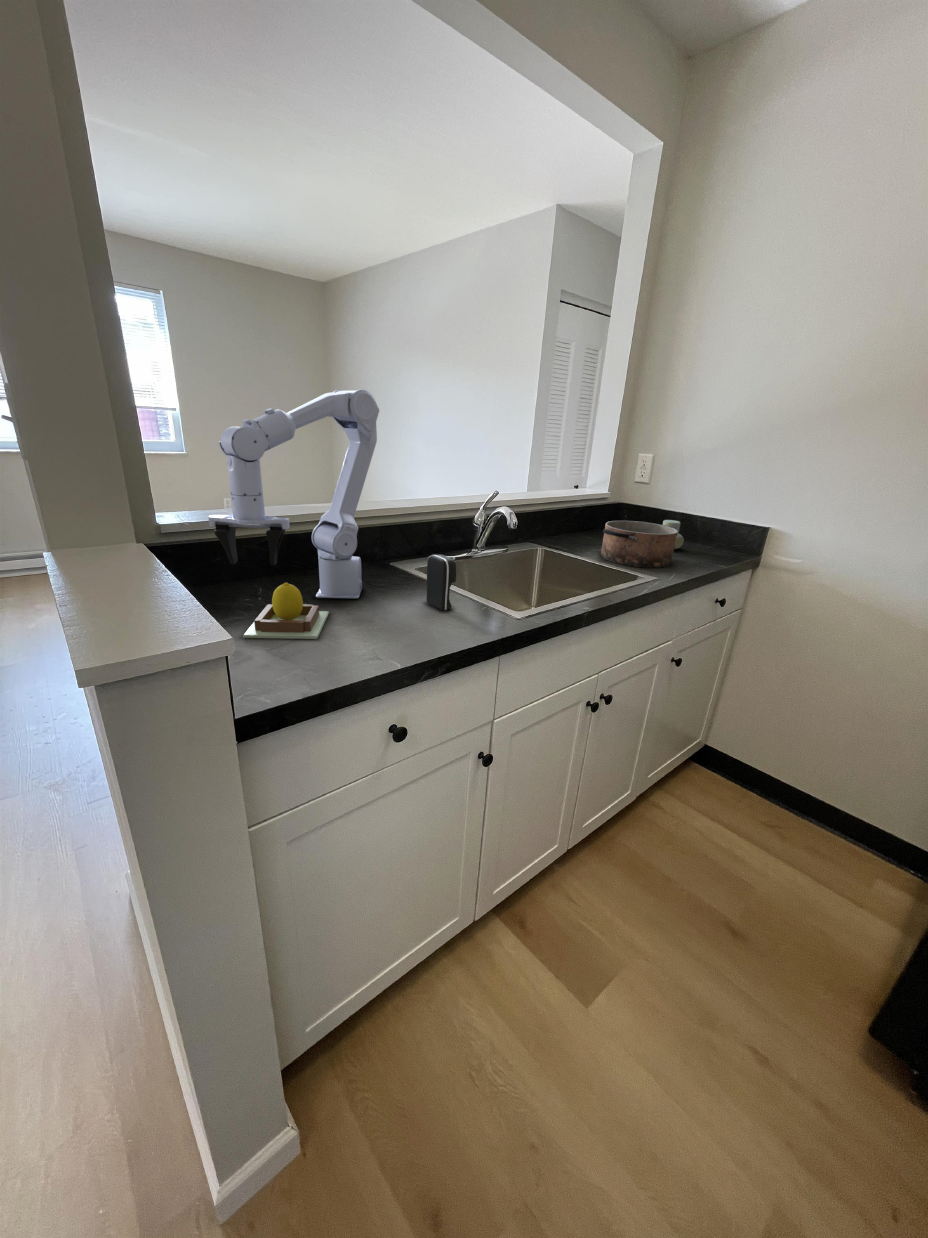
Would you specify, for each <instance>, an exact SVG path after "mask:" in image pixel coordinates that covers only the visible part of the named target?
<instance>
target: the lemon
mask: <svg viewBox="0 0 928 1238" xmlns="http://www.w3.org/2000/svg"><path fill="white" fill-rule="evenodd" d="M303 604H304V601H303V596H302V593H301V591H300V590H299V589H298V588H297V586H295V585H294V584H290V583H288V582H284V583H282V584H280V585H279V586H277V587H276V588H275V589H274V591H273V594H272V597H271V605H272V607H273V610H274V612H275V614H276V615H277V616H278V617H279V618H280V619H283V620H293V619H295V618H297V617H298V616H299V615H300V613H301V611H302V608H303Z"/></svg>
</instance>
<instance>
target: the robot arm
mask: <svg viewBox="0 0 928 1238" xmlns="http://www.w3.org/2000/svg"><path fill="white" fill-rule="evenodd" d="M263 412H264V414H262V415H260V416H258V417H255V418H254V419H249V418H246V419H243V420H242V426H236V425H234V426H228V427H227V428H225V429H224V431H223V432H222V433H221V436H220V440H219V441H218V446H219V448H220V450H221V452H222V454H224V455H225V456H226V466H227V477H228V483H229V492H230V502H231V511H232V514H212V515H209V516H208V517H207V518H208V525H209V527H211V528H215V529H214V530H213V534H214V536H215V537H216V538H217V540H218V541H219V542H220V543H221V545H222V547H223V549H224V551H225V553H226V555H227V558H228V560H229V563H230V565H235V564H236V563H238V552H237V550H238V549H237V543H236V535H237V534H236V531H237V528H254V529H256V528H257V529H268V530H266V531H265V535H266V539H267V543H268V549H269V551H268V552H269V563H270V566H276V565H277V564H278V555H279V550H280V546H281V544H282V543H281V542H282V541H283V537H284V535H285V533H286V530H289V529H290V528H291V526H290V518H289V517H281V516H279V517H278V516H271V515H270V516H269V515H266V510H265V499H264V489H263V477H262V469H261V468H262V467H261V459H262V457H263V456H264V454H265V452H267V451H270V450H271V449H273V448H276V447H277V446H280V445H282V444H284V443H287V442H289V441H290V440H292V439H294V437H295V434H296V430H297V429H300V428H303V427H305V426H307V425H310V424H312V423H315V422H318V421H320V420H322V419H324V418H327V417H328V418H329V417H330V418H331V417H332V419H333V420H334V421H335V422H336V423H337V424H338V426H339V427H340V428H341V429H342V430H343V432H345V435H346V437H347V438H348V440H349V443H348V446H347V449H346V453H345V455H344V459H343V463H342V466H341V470H340V473H339V477H338V479H337V483H336V486H335V490H334V492H333V496H332V500H331V503H330V507H329V509H328V510H327V511H326V512H325V513H323V514H322V515H321V516H320V519H319V522H318V524H316V526H315V527H314V528H313V530H312V533H311V542H312V545H313V546H314V547H315V548H316V549H317V556H318V557H317V558H318V574H319V575H318V576H319V589H318V591H317V592H316V594H315V598H317V599H352V600H353V599H354V600H355V599H356V600H357V599H360V596H361V592H362V589H363V581H362V580H363V579H362V559H361V557H360V556H354V555H353V554H354V553H355V552H356V550H357V547H358V537H357V536H358V533H359V526H358V524H357V522H356V520H355V516H356V515H355V514H356V512H357V508H358V504H359V501H360V498H361V495H362V491H363V488H364V485H365V483H366V480H367V475H368V472H369V469H370V465H371V463H372V459H373V456H374V453H375V448H376V445H377V442H378V431H377V420H378V417H379V413H380V408H379V405H378V403H377V402H376V399H375V396H373V394H372V393H371V392H369V390H367V389H358V390H357V389H356V390H343V389H336V390H334V391H332V392H330V391H329V392H325V393H323V394H321V395H319V396H317V397H315V398H313V399H311V400H309V401H307V402H305V403H303V404H302V405H300V406H297V407H296V408H293V409H291V410H290V411H287V412H285V411H284V410H282V409H279V408H277V409H274V408H267V409H264V411H263Z"/></svg>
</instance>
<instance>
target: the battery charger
mask: <svg viewBox="0 0 928 1238" xmlns="http://www.w3.org/2000/svg"><path fill="white" fill-rule="evenodd" d="M456 581H457V563H456V561H455V560H454V559H453V558H451V557H450V556H447V555H444V554H431V555H429V556H428V557H427V562H426V598H425V599H426V600H425V601H426V603H427V604H429V605H430V606H433V607H434V608H436V609H438V610H441V611H447V610H451V609H452V607H453V604H451V601H450V593H451V592H450V589H451V587H452V584H453V583H457V582H456Z"/></svg>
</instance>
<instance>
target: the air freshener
mask: <svg viewBox="0 0 928 1238" xmlns="http://www.w3.org/2000/svg"><path fill="white" fill-rule="evenodd" d="M662 525H666V526H671V527H675V528H676V530H677V531H678V532H677V537H676V542H675V547H674V551H676V550H677V549H680V548H681V547H682V546H683V545H684V542H685V538H684V537H683V535H682V534H681V533H679V532H680V527H681V521H679V520H673V519H664V520H663V521H662Z"/></svg>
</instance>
